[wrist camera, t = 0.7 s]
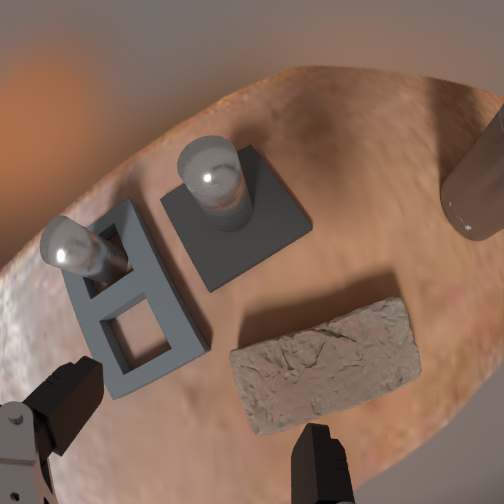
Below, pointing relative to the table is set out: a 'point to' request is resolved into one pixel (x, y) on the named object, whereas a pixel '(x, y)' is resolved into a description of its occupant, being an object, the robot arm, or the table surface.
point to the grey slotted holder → (128, 295)
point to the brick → (326, 367)
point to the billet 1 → (81, 251)
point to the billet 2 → (216, 182)
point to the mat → (245, 240)
